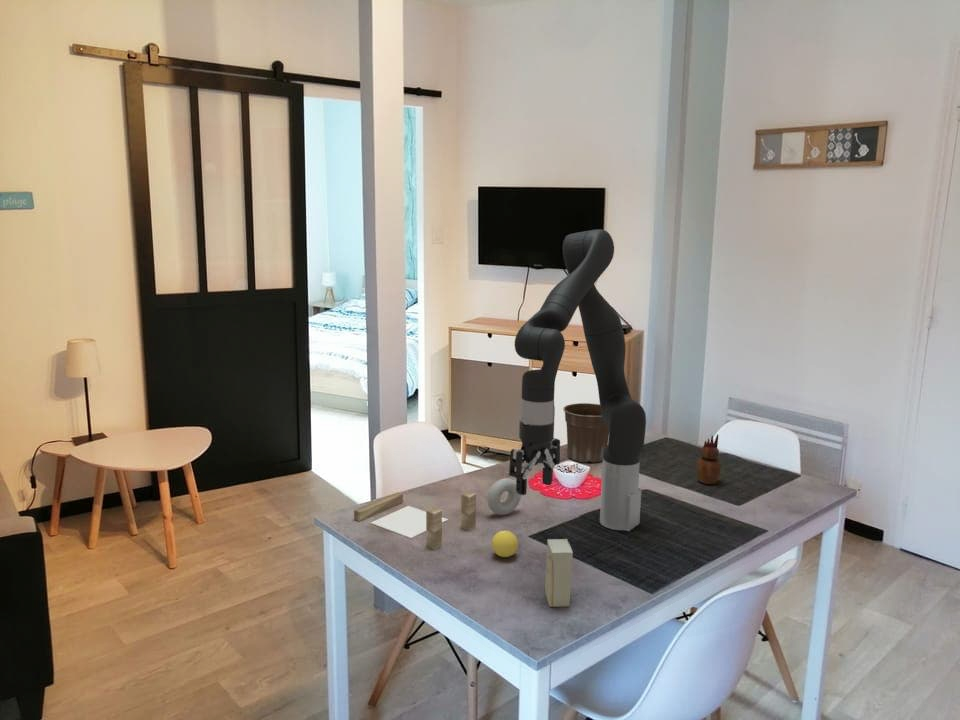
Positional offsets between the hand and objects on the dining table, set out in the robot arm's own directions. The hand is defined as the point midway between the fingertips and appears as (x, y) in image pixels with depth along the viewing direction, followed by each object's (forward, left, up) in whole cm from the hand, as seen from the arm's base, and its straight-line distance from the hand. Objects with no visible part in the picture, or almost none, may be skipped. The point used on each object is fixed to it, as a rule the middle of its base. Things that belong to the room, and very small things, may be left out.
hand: (534, 489), depth 166 cm
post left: (+24, +7, -18) cm, 31 cm away
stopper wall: (+49, 0, -18) cm, 52 cm away
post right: (+24, -7, -18) cm, 31 cm away
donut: (+22, -19, -19) cm, 34 cm away
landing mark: (+38, 0, -18) cm, 42 cm away
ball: (+8, 0, -15) cm, 17 cm away
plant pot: (+28, -73, -19) cm, 80 cm away
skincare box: (-12, +9, -19) cm, 24 cm away
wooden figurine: (-11, -76, -19) cm, 79 cm away
